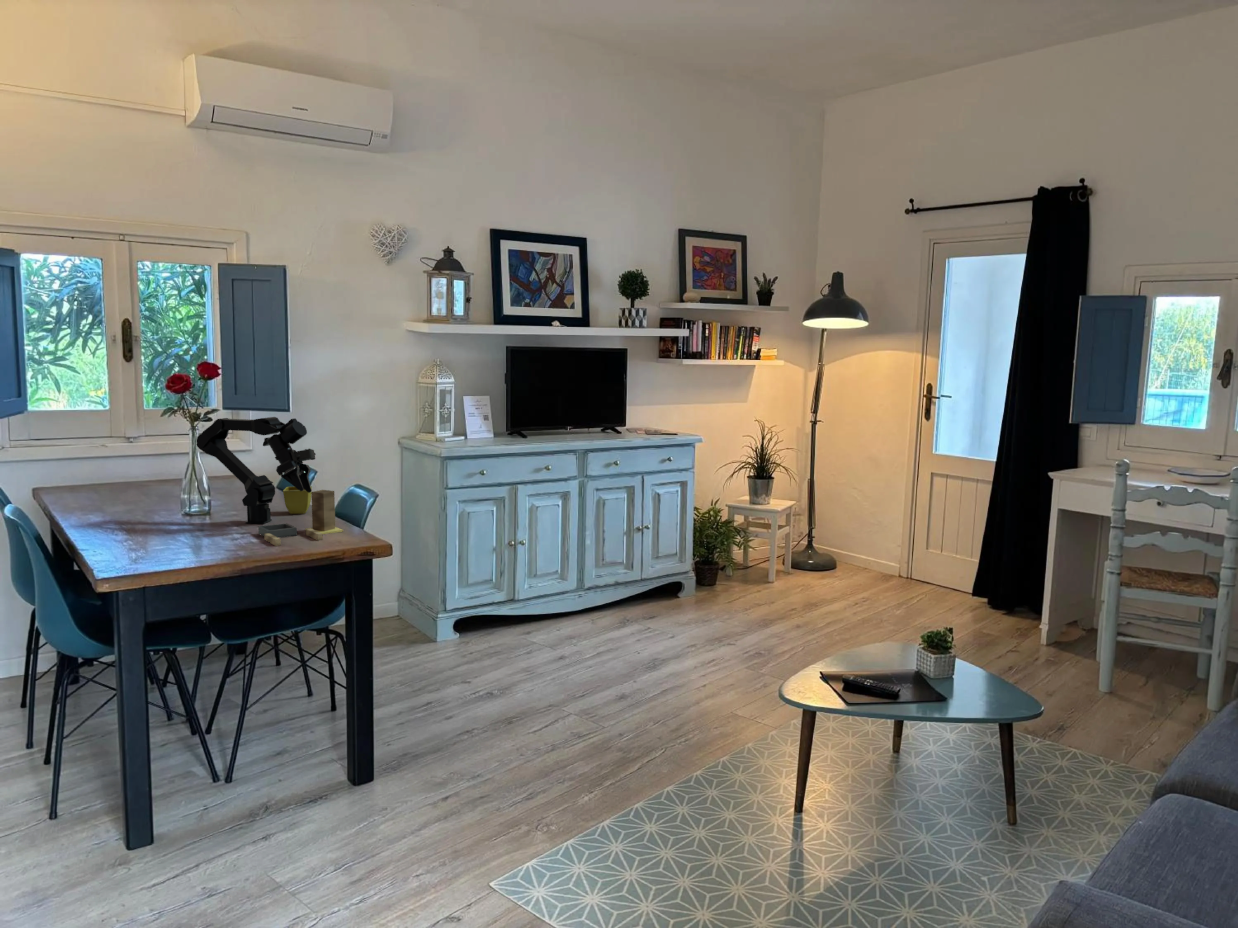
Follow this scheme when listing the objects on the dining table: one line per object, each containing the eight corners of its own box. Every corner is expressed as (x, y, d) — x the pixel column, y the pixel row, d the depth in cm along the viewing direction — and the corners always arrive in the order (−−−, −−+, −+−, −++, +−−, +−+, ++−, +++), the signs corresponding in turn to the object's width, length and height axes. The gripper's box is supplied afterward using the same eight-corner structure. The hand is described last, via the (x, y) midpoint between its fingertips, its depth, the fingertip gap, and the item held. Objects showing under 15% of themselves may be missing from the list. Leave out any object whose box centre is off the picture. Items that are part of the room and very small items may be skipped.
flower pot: (283, 515, 317) (282, 490, 316) (287, 510, 325) (286, 486, 324) (309, 515, 319) (308, 490, 317) (312, 510, 327) (312, 486, 326)
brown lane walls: (264, 539, 279) (264, 533, 278) (310, 534, 288) (310, 528, 288) (275, 545, 271) (275, 539, 271) (322, 539, 280) (322, 533, 280)
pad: (305, 530, 293) (305, 528, 293) (332, 526, 299) (332, 525, 299) (315, 535, 287) (315, 533, 287) (343, 531, 292) (343, 529, 292)
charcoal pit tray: (258, 533, 287) (258, 526, 286) (286, 530, 293) (286, 523, 292) (268, 539, 280) (267, 531, 280) (296, 535, 286) (296, 527, 285)
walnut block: (312, 529, 292) (311, 491, 290) (323, 527, 296) (322, 489, 294) (324, 531, 290) (323, 493, 288) (335, 528, 294) (334, 490, 292)
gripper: (296, 435, 290) (320, 477, 289) (312, 441, 308) (335, 480, 308) (265, 453, 289) (289, 494, 288) (283, 458, 307) (306, 497, 306)
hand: (306, 491), depth 297 cm, fingers open, 9 cm apart
